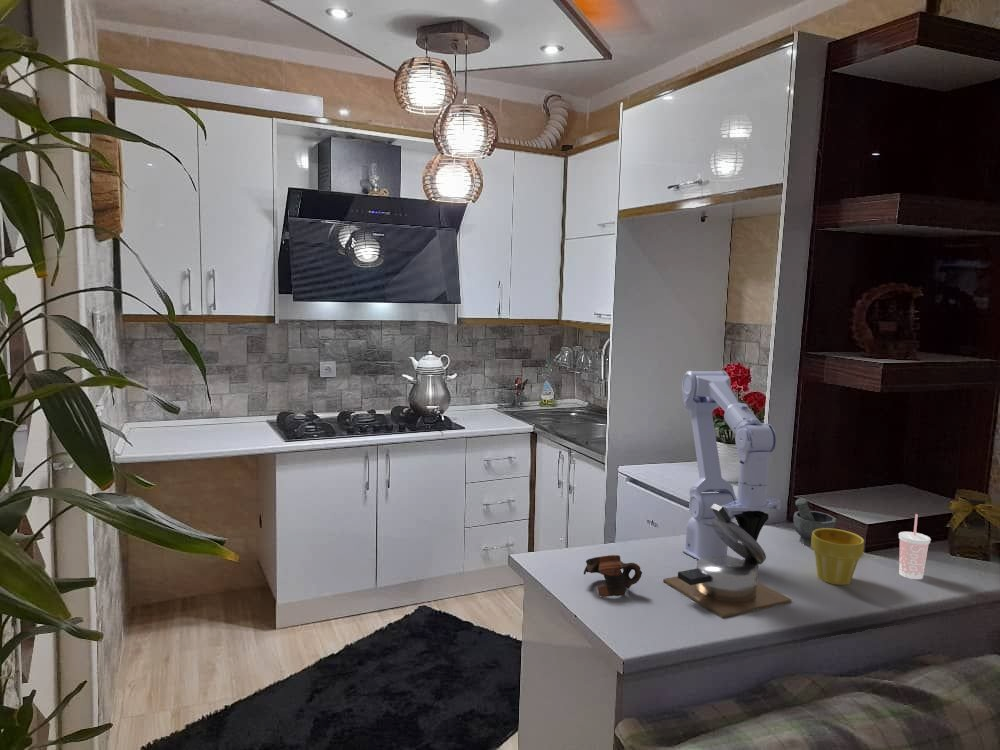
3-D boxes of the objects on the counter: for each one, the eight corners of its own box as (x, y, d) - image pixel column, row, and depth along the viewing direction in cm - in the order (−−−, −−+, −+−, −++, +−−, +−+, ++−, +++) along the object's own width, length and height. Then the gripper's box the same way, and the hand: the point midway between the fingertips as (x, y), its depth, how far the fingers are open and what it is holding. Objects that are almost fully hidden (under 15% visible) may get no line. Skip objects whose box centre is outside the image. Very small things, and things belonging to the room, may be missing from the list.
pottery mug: (584, 600, 142) (578, 558, 145) (592, 602, 151) (586, 563, 154) (644, 591, 140) (636, 549, 143) (648, 594, 148) (640, 554, 151)
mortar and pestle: (811, 534, 182) (814, 489, 180) (842, 546, 173) (846, 499, 172) (779, 540, 177) (782, 494, 176) (809, 553, 169) (813, 504, 167)
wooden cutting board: (655, 583, 150) (656, 558, 149) (728, 569, 158) (729, 546, 157) (713, 619, 133) (715, 592, 133) (791, 602, 142) (793, 576, 141)
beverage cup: (893, 575, 156) (898, 514, 154) (897, 567, 161) (902, 508, 159) (925, 583, 152) (931, 520, 151) (928, 574, 157) (934, 513, 155)
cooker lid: (729, 552, 154) (733, 548, 154) (773, 574, 142) (777, 569, 143) (693, 500, 148) (697, 496, 148) (736, 519, 136) (740, 514, 137)
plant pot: (867, 591, 148) (871, 546, 146) (814, 586, 150) (818, 542, 148) (853, 572, 158) (856, 530, 156) (803, 567, 160) (807, 526, 158)
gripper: (740, 490, 139) (736, 556, 141) (793, 483, 145) (789, 547, 147) (715, 481, 145) (711, 545, 147) (767, 475, 151) (763, 536, 153)
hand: (748, 545), depth 147 cm, fingers closed
